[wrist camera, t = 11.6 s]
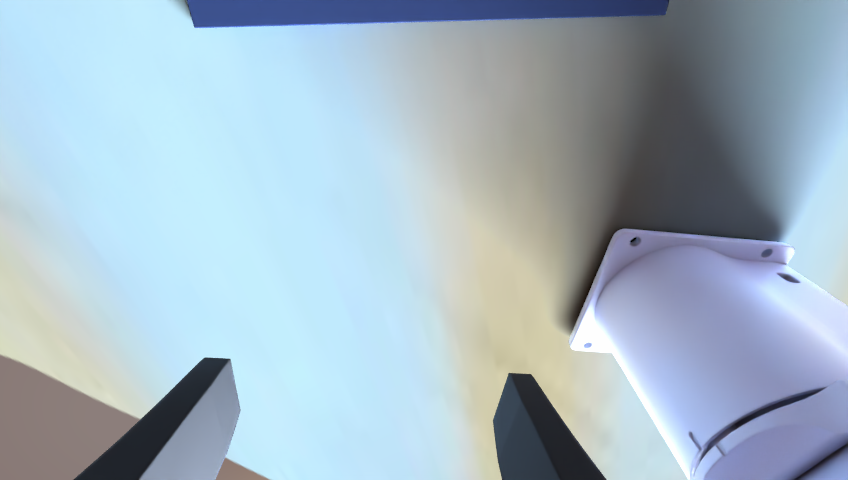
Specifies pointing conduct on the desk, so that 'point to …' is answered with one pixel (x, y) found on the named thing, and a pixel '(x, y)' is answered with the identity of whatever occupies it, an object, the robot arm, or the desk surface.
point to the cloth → (405, 11)
